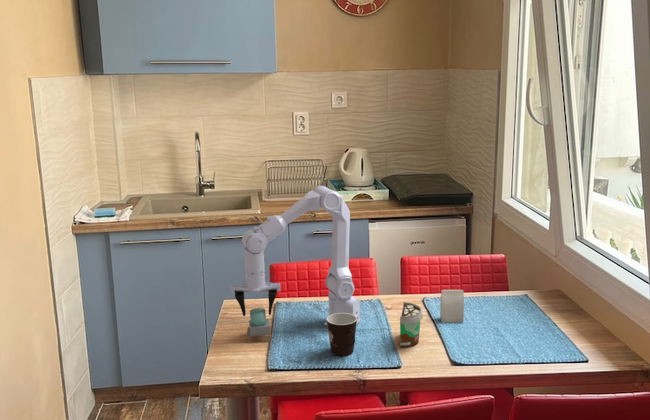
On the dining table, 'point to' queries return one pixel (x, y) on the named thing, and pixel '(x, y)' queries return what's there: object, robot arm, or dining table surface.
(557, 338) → the dining table surface
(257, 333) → the top block
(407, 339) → the food container
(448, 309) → the grey rectangular block
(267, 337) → the base block
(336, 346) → the coffee mug
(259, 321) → the green rounded cylinder
